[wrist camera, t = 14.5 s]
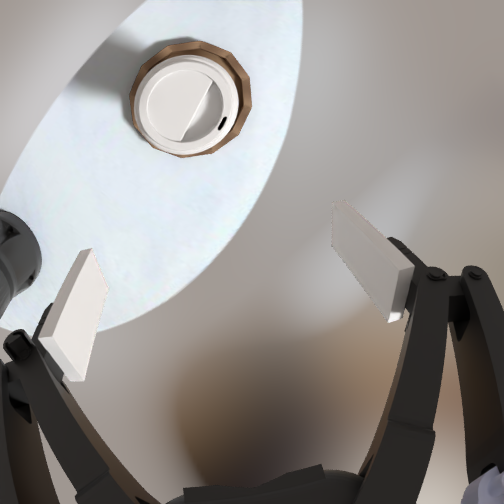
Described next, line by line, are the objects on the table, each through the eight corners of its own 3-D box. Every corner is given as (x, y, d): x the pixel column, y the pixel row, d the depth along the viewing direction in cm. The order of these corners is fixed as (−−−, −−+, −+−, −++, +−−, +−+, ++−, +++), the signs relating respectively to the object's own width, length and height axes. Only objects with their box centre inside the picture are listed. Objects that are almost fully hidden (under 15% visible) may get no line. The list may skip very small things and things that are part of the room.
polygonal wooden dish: (142, 163, 40) (140, 166, 38) (126, 55, 32) (123, 54, 30) (253, 146, 42) (255, 149, 40) (245, 38, 33) (246, 36, 32)
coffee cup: (185, 148, 39) (180, 181, 27) (138, 99, 34) (107, 107, 22) (240, 102, 37) (264, 111, 25) (194, 51, 33) (192, 31, 20)
